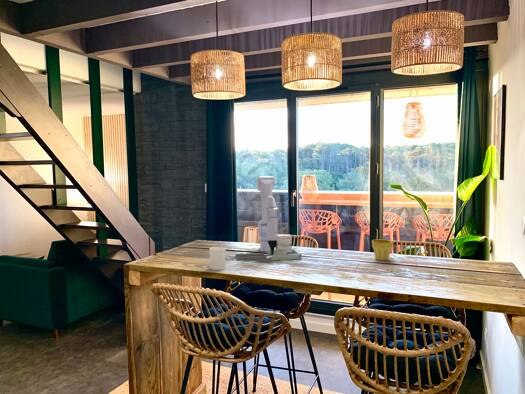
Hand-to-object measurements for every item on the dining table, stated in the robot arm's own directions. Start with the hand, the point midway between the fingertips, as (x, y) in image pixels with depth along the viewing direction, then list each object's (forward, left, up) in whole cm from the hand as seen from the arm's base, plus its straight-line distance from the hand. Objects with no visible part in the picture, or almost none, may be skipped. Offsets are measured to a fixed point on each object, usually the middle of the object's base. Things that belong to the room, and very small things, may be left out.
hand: (272, 254), depth 221 cm
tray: (0, +7, -2) cm, 7 cm away
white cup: (+20, -30, -2) cm, 36 cm away
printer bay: (0, -11, -2) cm, 11 cm away
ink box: (-1, +6, -2) cm, 7 cm away
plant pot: (+15, +57, -2) cm, 59 cm away
